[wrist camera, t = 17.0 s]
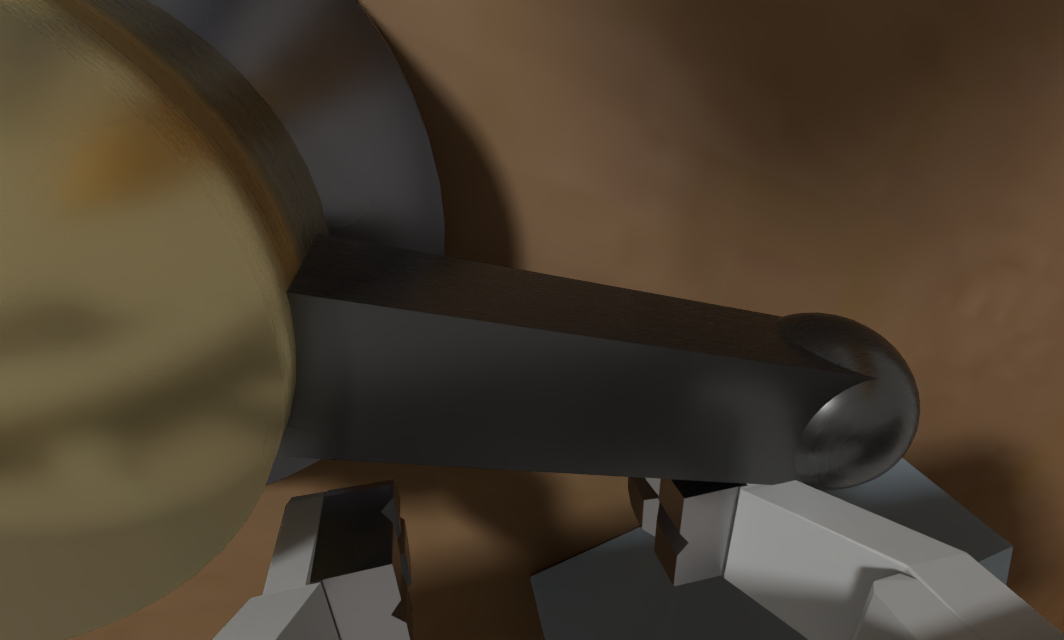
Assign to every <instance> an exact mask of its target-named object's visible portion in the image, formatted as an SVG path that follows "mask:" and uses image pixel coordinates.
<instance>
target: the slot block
mask: <svg viewBox="0 0 1064 640" xmlns="http://www.w3.org/2000/svg"><path fill="white" fill-rule="evenodd" d="M820 491H822V492H825V493H827V494H829V495H832V496H834V497H837V498H839V499H841V500H844V501H846V502H848V503H851V504H853V505H855V506H858V507H860V508H862V509H865V510H867V511H870V512H872V513H874V514H877V515H879V516H881V517H884V518H886V519H888V520H891V521H893V522H895V523H898V524H900V525H903V526H905V527H907V528H910V529H912V530H914V531H917V532H919V533H921V534H924V535H926V536H928V537H931V538H933V539H935V540H938V541H940V542H943V543H945V544H947V545H950V546H952V547H954V548H957V549H959V550H961V551H964V552H966V553H968V554H969V555H970V556H971V557H972V558H974V559H975V560H976V561H977V562H978V563H980V564H981V565H982V566H983V567H984V568H986V569H987V570H988V571H989V572H990V573H992V574H993V575H994V576H995V577H996V578H998V579H999V580H1000V581H1001V582H1002V583H1003V584H1005V585H1006V583H1007V578H1008V572H1009V567H1010V561H1011V556H1012V550H1013V545H1012V544H1010V543H1009V542H1008V541H1006V540H1005V539H1004V538H1003V537H1001V536H1000V535H999V534H998V533H996V532H995V531H994V530H993V529H991V528H990V527H989V526H988V525H986V524H985V523H984V522H983V521H981V520H980V519H979V518H978V517H976V516H975V515H974V514H972V513H971V512H970V511H969V510H967V509H966V508H965V507H964V506H962V505H961V504H960V503H959V502H957V501H956V500H955V499H954V498H952V497H951V496H950V495H949V494H947V493H946V492H945V491H944V490H942V489H941V488H940V487H938V486H937V485H936V484H935V483H933V482H932V481H931V480H930V479H928V478H927V477H926V476H925V475H923V474H922V473H921V472H920V471H918V470H917V469H916V468H915V467H913V466H912V465H911V464H910V463H908V462H907V461H906V460H904V459H903V458H901V459H900V461H899V462H898V463H897V464H896V465H895V466H893V467H892V468H891V469H890V470H889V471H887V472H886V473H885V474H883V475H881V476H880V477H878V478H876V479H874V480H872V481H870V482H867V483H865V484H862V485H859V486H856V487H852V488H846V489H838V490H820ZM654 545H655V536H653V535H651V534H650V533H648V532H646V531H645V530H643V529H642V528H641V527H639V528H637V529H635V530H632V531H630V532H628V533H626V534H624V535H621V536H619V537H617V538H615V539H612V540H610V541H608V542H606V543H604V544H601V545H599V546H597V547H595V548H593V549H590V550H588V551H586V552H584V553H582V554H579V555H577V556H575V557H573V558H570V559H568V560H566V561H564V562H562V563H559V564H557V565H555V566H553V567H551V568H548V569H546V570H544V571H542V572H540V573H537V574H535V575H533V576H531V577H530V580H531V584H532V588H533V593H534V597H535V601H536V605H537V610H538V614H539V618H540V622H541V627H542V631H543V635H544V639H545V640H808V639H807V638H806V637H804V636H803V635H802V634H800V633H799V632H797V631H796V630H795V629H793V628H792V627H791V626H789V625H788V624H786V623H785V622H784V621H782V620H781V619H780V618H778V617H777V616H775V615H774V614H773V613H771V612H770V611H769V610H767V609H766V608H765V607H763V606H762V605H760V604H759V603H758V602H756V601H755V600H754V599H752V598H751V597H749V596H748V595H747V594H745V593H744V592H743V591H741V590H740V589H738V588H737V587H736V586H734V585H733V584H732V583H730V582H729V581H727V580H726V579H725V578H724V575H721V576H717V577H713V578H708V579H704V580H699V581H695V582H691V583H686V584H682V585H677V586H673V584H672V583H671V581H670V579H669V577H668V575H667V574H666V572H665V570H664V568H663V566H662V564H661V563H660V561H659V559H658V557H657V555H656V554H655V552H654Z"/></svg>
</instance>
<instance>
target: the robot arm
mask: <svg viewBox="0 0 1064 640" xmlns="http://www.w3.org/2000/svg"><path fill="white" fill-rule="evenodd" d="M628 491H629V496H630V502H631V506H632V508H633V511H634V514H635V516H636V518H637V520H638V522H639V524H640V526H641V528H642V529H643V530H645V531H646V532H648V533H650V534H651V535H653V536H655V545H654V552H655V554H656V555H657V557H658V559H659V561H660V563H661V564H662V566H663V568H664V570H665V572H666V574H667V575H668V577H669V579H670V581H671V583H672V584H673V586H677V585H682V584H686V583H691V582H695V581H699V580H704V579H708V578H713V577H717V576H721V575H724V578H725V579H726V580H727V581H729V582H730V583H732V584H733V585H734V586H736V587H737V588H738V589H740V590H741V591H743V592H744V593H745V594H747V595H748V596H749V597H751V598H752V599H754V600H755V601H756V602H758V603H759V604H760V605H762V606H763V607H765V608H766V609H767V610H769V611H770V612H771V613H773V614H774V615H775V616H777V617H778V618H780V619H781V620H782V621H784V622H785V623H786V624H788V625H789V626H791V627H792V628H793V629H795V630H796V631H797V632H799V633H800V634H802V635H803V636H804V637H806V638H807V639H808V640H1064V634H1063V633H1062V632H1061V631H1060V630H1059V629H1057V628H1056V627H1055V626H1054V625H1053V624H1051V623H1050V622H1049V621H1048V620H1047V619H1045V618H1044V617H1043V616H1042V615H1041V614H1039V613H1038V612H1037V611H1036V610H1035V609H1033V608H1032V607H1031V606H1030V605H1029V604H1027V603H1026V602H1025V601H1024V600H1023V599H1021V598H1020V597H1019V596H1018V595H1017V594H1015V593H1014V592H1013V591H1012V590H1011V589H1009V588H1008V587H1007V586H1006V585H1005V584H1003V583H1002V582H1001V581H1000V580H999V579H998V578H996V577H995V576H994V575H993V574H992V573H990V572H989V571H988V570H987V569H986V568H984V567H983V566H982V565H981V564H980V563H978V562H977V561H976V560H975V559H974V558H972V557H971V556H970V555H969V554H968V553H966V552H964V551H961V550H959V549H957V548H954V547H952V546H950V545H947V544H945V543H943V542H940V541H938V540H935V539H933V538H931V537H928V536H926V535H924V534H921V533H919V532H917V531H914V530H912V529H910V528H907V527H905V526H903V525H900V524H898V523H895V522H893V521H891V520H888V519H886V518H884V517H881V516H879V515H877V514H874V513H872V512H870V511H867V510H865V509H862V508H860V507H858V506H855V505H853V504H851V503H848V502H846V501H844V500H841V499H839V498H837V497H834V496H832V495H829V494H827V493H825V492H822V491H820V490H818V489H815V488H813V487H811V486H808V485H806V484H804V483H801V482H799V481H796V480H795V481H790V482H785V483H780V484H776V485H762V484H745V483H728V482H710V481H693V480H676V479H658V478H641V477H628ZM410 584H411V565H410V554H409V544H408V537H407V531H406V526H405V520H404V519H403V518H401V517H400V496H399V492H398V488H397V483H396V481H395V480H394V479H393V480H388V481H382V482H376V483H370V484H364V485H358V486H352V487H346V488H340V489H334V490H329V491H327V492H321V493H315V494H309V495H303V496H297V497H292V498H291V499H290V501H289V502H288V503H287V505H286V507H285V511H284V514H283V518H282V522H281V526H280V530H279V534H278V537H277V541H276V545H275V549H274V553H273V557H272V560H271V564H270V568H269V572H268V576H267V580H266V584H265V587H264V591H263V595H261V596H257V597H253V598H250V599H249V600H248V601H247V602H246V603H245V604H244V606H243V607H242V608H241V609H240V610H239V611H238V612H237V613H236V614H235V615H234V616H233V618H232V619H231V620H230V621H229V622H228V623H227V624H226V625H225V626H224V627H223V628H222V629H221V631H220V632H219V633H218V634H217V635H216V636H215V637H214V638H213V639H212V640H413V627H412V607H411V602H410V597H409V592H408V587H409V585H410Z"/></svg>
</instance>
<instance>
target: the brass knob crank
mask: <svg viewBox="0 0 1064 640" xmlns="http://www.w3.org/2000/svg"><path fill="white" fill-rule="evenodd" d="M919 417H920V400H919V392H918V389H917V385H916V382H915V379H914V376H913V374H912V372H911V370H910V368H909V366H908V365H907V363H906V361H905V360H904V358H903V357H902V356H901V354H900V353H899V352H898V351H897V350H896V348H895V347H894V346H893V345H892V344H891V343H889V342H888V341H887V340H886V339H885V338H884V337H882V336H881V335H880V334H878V333H877V332H875V331H874V330H872V329H871V328H869V327H867V326H865V325H863V324H861V323H858V322H856V321H854V320H851V319H848V318H845V317H841V316H838V315H833V314H825V313H798V314H792V315H788V316H783V317H781V316H775V315H770V314H764V313H758V312H753V311H747V310H742V309H736V308H731V307H725V306H720V305H714V304H709V303H703V302H697V301H692V300H686V299H681V298H675V297H670V296H664V295H659V294H653V293H648V292H642V291H636V290H631V289H625V288H620V287H614V286H609V285H603V284H598V283H592V282H587V281H581V280H575V279H570V278H564V277H559V276H553V275H548V274H542V273H537V272H531V271H526V270H520V269H514V268H509V267H503V266H498V265H492V264H487V263H481V262H476V261H470V260H465V259H459V258H453V257H448V256H442V255H437V254H431V253H426V252H420V251H415V250H409V249H404V248H398V247H392V246H387V245H381V244H376V243H370V242H365V241H359V240H354V239H348V238H343V237H337V236H331V235H329V232H328V227H327V223H326V219H325V215H324V211H323V207H322V203H321V199H320V197H319V194H318V192H317V189H316V187H315V184H314V181H313V179H312V176H311V174H310V171H309V169H308V167H307V165H306V163H305V161H304V159H303V158H302V156H301V154H300V152H299V150H298V148H297V147H296V145H295V143H294V141H293V139H292V137H291V136H290V134H289V133H288V131H287V130H286V129H285V127H284V126H283V124H282V123H281V122H280V120H279V119H278V117H277V116H276V114H275V113H274V112H273V110H272V109H271V107H270V106H269V104H268V103H267V102H266V101H265V100H264V99H263V98H262V96H261V95H260V94H259V93H258V92H257V91H256V90H255V88H254V87H253V86H252V85H251V84H250V83H249V82H248V81H247V79H246V78H245V77H244V76H243V75H242V74H241V73H240V72H239V71H238V70H237V69H236V68H235V67H234V66H233V65H232V64H231V63H230V62H229V61H227V60H226V59H225V58H224V57H223V56H222V55H221V54H220V53H219V52H218V51H217V50H216V49H214V48H213V47H212V46H211V45H210V44H209V43H208V42H207V41H205V40H204V39H203V38H201V37H200V36H199V35H197V34H196V33H195V32H193V31H192V30H191V29H189V28H188V27H187V26H185V25H184V24H183V23H181V22H180V21H179V20H177V19H176V18H175V17H173V16H172V15H171V14H169V13H168V12H166V11H165V10H163V9H161V8H160V7H158V6H156V5H155V4H153V3H151V2H150V1H148V0H0V640H64V639H67V638H70V637H74V636H77V635H80V634H83V633H86V632H90V631H92V630H95V629H97V628H99V627H102V626H104V625H107V624H109V623H112V622H114V621H116V620H119V619H121V618H124V617H126V616H128V615H131V614H132V613H134V612H136V611H138V610H140V609H142V608H144V607H145V606H147V605H149V604H151V603H153V602H155V601H156V600H158V599H160V598H162V597H164V596H166V595H167V594H168V593H170V592H171V591H173V590H174V589H176V588H177V587H178V586H180V585H181V584H183V583H184V582H186V581H187V580H188V579H190V578H191V577H193V576H194V575H196V574H197V573H198V572H199V571H200V570H201V569H202V568H203V567H205V566H206V565H207V564H208V563H209V562H210V561H211V560H212V559H213V558H214V557H215V556H216V555H218V554H219V553H220V552H221V551H222V550H223V549H224V548H225V547H226V545H227V544H228V543H229V542H230V540H231V539H232V538H233V537H234V536H235V534H236V533H237V532H238V531H239V529H240V528H241V527H242V526H243V524H244V523H245V522H246V521H247V519H248V517H249V515H250V514H251V512H252V510H253V508H254V507H255V505H256V503H257V501H258V500H259V498H260V496H261V494H262V493H263V491H264V488H265V485H266V483H267V480H268V477H269V474H270V472H271V469H272V466H273V463H274V460H275V458H276V456H277V457H294V458H312V459H329V460H346V461H364V462H381V463H398V464H416V465H433V466H450V467H468V468H485V469H502V470H520V471H537V472H554V473H572V474H589V475H606V476H624V477H641V478H658V479H676V480H693V481H710V482H728V483H745V484H762V485H776V484H780V483H785V482H790V481H795V480H796V481H799V482H801V483H804V484H806V485H808V486H811V487H813V488H815V489H818V490H838V489H846V488H852V487H856V486H859V485H862V484H865V483H867V482H870V481H872V480H874V479H876V478H878V477H880V476H881V475H883V474H885V473H886V472H887V471H889V470H890V469H891V468H892V467H893V466H895V465H896V464H897V463H898V462H899V461H900V459H901V458H902V457H903V456H904V455H905V453H906V452H907V450H908V449H909V447H910V445H911V443H912V441H913V439H914V437H915V434H916V431H917V428H918V424H919Z"/></svg>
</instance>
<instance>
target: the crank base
mask: <svg viewBox="0 0 1064 640" xmlns="http://www.w3.org/2000/svg"><path fill="white" fill-rule="evenodd" d="M148 1H150V2H151V3H153V4H155V5H156V6H158V7H160V8H161V9H163V10H165V11H166V12H168V13H169V14H171V15H172V16H173V17H175V18H176V19H177V20H179V21H180V22H181V23H183V24H184V25H185V26H187V27H188V28H189V29H191V30H192V31H193V32H195V33H196V34H197V35H199V36H200V37H201V38H203V39H204V40H205V41H207V42H208V43H209V44H210V45H211V46H212V47H213V48H214V49H216V50H217V51H218V52H219V53H220V54H221V55H222V56H223V57H224V58H225V59H226V60H227V61H229V62H230V63H231V64H232V65H233V66H234V67H235V68H236V69H237V70H238V71H239V72H240V73H241V74H242V75H243V76H244V77H245V78H246V79H247V81H248V82H249V83H250V84H251V85H252V86H253V87H254V88H255V90H256V91H257V92H258V93H259V94H260V95H261V96H262V98H263V99H264V100H265V101H266V102H267V103H268V104H269V106H270V107H271V109H272V110H273V112H274V113H275V114H276V116H277V117H278V119H279V120H280V122H281V123H282V124H283V126H284V127H285V129H286V130H287V131H288V133H289V134H290V136H291V137H292V139H293V141H294V143H295V145H296V147H297V148H298V150H299V152H300V154H301V156H302V158H303V159H304V161H305V163H306V165H307V167H308V169H309V171H310V174H311V176H312V179H313V181H314V184H315V187H316V189H317V192H318V194H319V197H320V199H321V203H322V207H323V211H324V215H325V219H326V223H327V227H328V232H329V235H331V236H337V237H343V238H348V239H354V240H359V241H365V242H370V243H376V244H381V245H387V246H392V247H398V248H404V249H409V250H415V251H420V252H426V253H431V254H437V255H442V256H444V248H445V223H444V214H443V205H442V196H441V187H440V182H439V178H438V174H437V170H436V166H435V161H434V157H433V153H432V149H431V145H430V141H429V137H428V134H427V130H426V126H425V123H424V120H423V118H422V115H421V112H420V110H419V107H418V105H417V102H416V99H415V97H414V94H413V91H412V89H411V86H410V84H409V83H408V81H407V79H406V77H405V75H404V73H403V71H402V69H401V67H400V65H399V63H398V61H397V60H396V58H395V56H394V54H393V52H392V50H391V48H390V47H389V45H388V44H387V42H386V41H385V39H384V38H383V36H382V35H381V33H380V32H379V30H378V29H377V27H376V26H375V24H374V23H373V21H372V20H371V18H370V17H369V15H368V14H367V13H366V11H365V10H364V8H363V7H362V6H361V5H360V3H359V2H358V1H357V0H148ZM319 460H321V459H312V458H294V457H277V456H276V458H275V460H274V463H273V466H272V469H271V472H270V474H269V477H268V480H267V483H266V485H268V484H271V483H273V482H276V481H278V480H281V479H284V478H286V477H288V476H290V475H292V474H294V473H296V472H298V471H300V470H302V469H304V468H306V467H308V466H310V465H312V464H314V463H316V462H318V461H319Z"/></svg>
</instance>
